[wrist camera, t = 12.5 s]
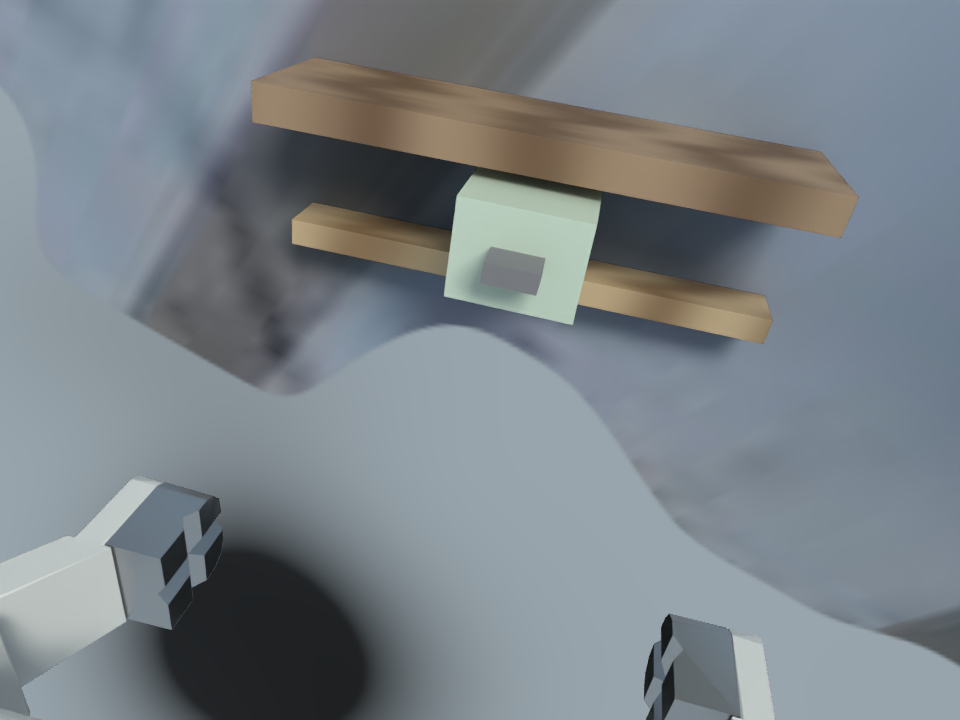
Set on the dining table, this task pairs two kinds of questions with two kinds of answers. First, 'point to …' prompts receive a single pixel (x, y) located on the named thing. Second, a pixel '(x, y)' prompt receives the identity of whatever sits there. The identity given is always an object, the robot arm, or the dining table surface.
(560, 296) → the cabinet block
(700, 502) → the dining table surface
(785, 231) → the dining table surface
